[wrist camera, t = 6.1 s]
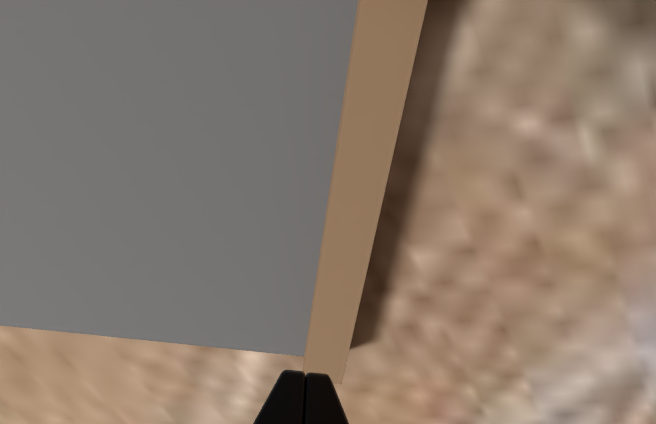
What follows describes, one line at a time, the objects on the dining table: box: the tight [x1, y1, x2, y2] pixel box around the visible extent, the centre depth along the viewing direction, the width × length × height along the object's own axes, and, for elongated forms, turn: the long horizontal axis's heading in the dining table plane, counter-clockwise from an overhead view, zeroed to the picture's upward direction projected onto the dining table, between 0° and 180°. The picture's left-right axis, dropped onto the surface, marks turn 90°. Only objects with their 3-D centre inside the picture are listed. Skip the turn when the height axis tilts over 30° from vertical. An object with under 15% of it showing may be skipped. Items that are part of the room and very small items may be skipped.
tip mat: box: [0, 0, 428, 384], centre depth 16 cm, size 16×19×2 cm
